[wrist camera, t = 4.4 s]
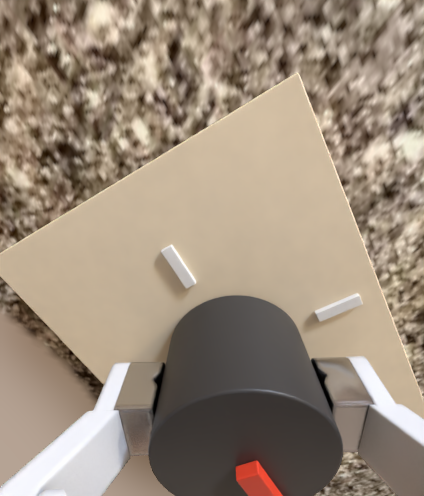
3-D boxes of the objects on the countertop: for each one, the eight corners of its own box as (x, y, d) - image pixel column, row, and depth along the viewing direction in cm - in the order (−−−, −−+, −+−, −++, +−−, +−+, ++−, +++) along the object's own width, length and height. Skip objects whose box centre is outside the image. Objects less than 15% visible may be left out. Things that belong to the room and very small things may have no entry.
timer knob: (145, 326, 9) (103, 446, 6) (270, 272, 9) (307, 374, 5) (208, 411, 11) (204, 545, 7) (319, 371, 10) (374, 503, 7)
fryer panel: (41, 228, 11) (-19, 264, 8) (274, 87, 9) (300, 70, 6) (205, 425, 16) (203, 493, 13) (387, 358, 14) (433, 421, 11)
